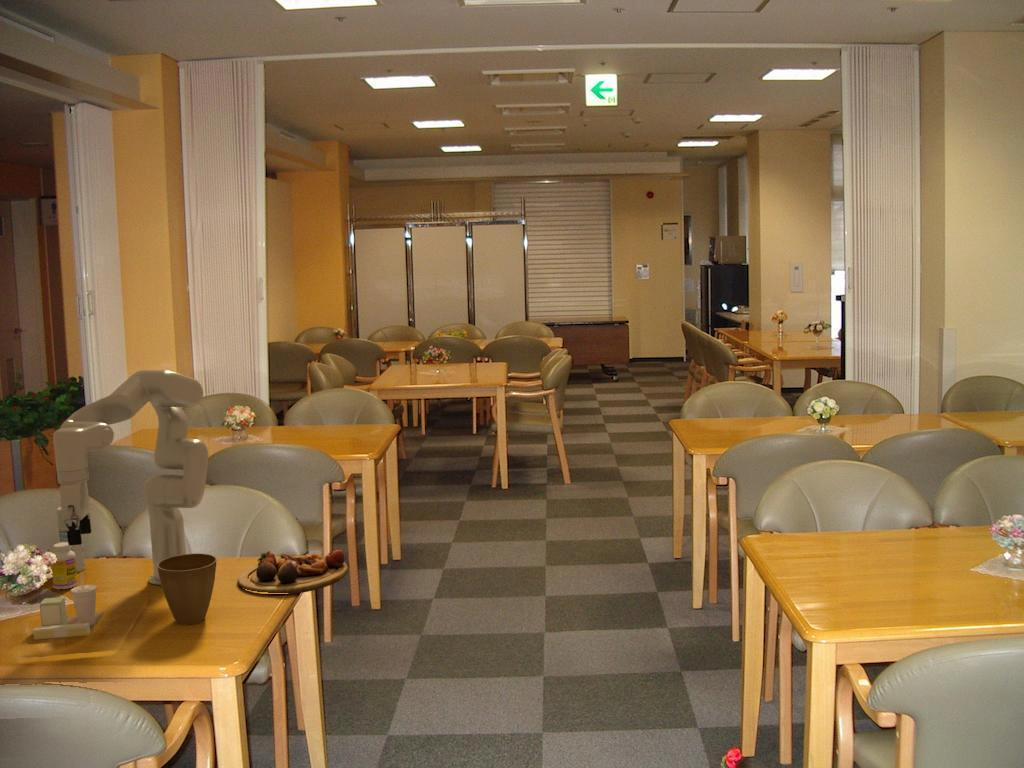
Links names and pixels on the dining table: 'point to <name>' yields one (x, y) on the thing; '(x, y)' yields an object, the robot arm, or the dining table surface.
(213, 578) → the plant pot
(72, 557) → the supplement bottle
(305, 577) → the wooden plate with food
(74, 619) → the shelf board
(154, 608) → the dining table surface
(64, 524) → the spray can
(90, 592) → the smoothie
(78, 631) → the rail
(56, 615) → the tea box
